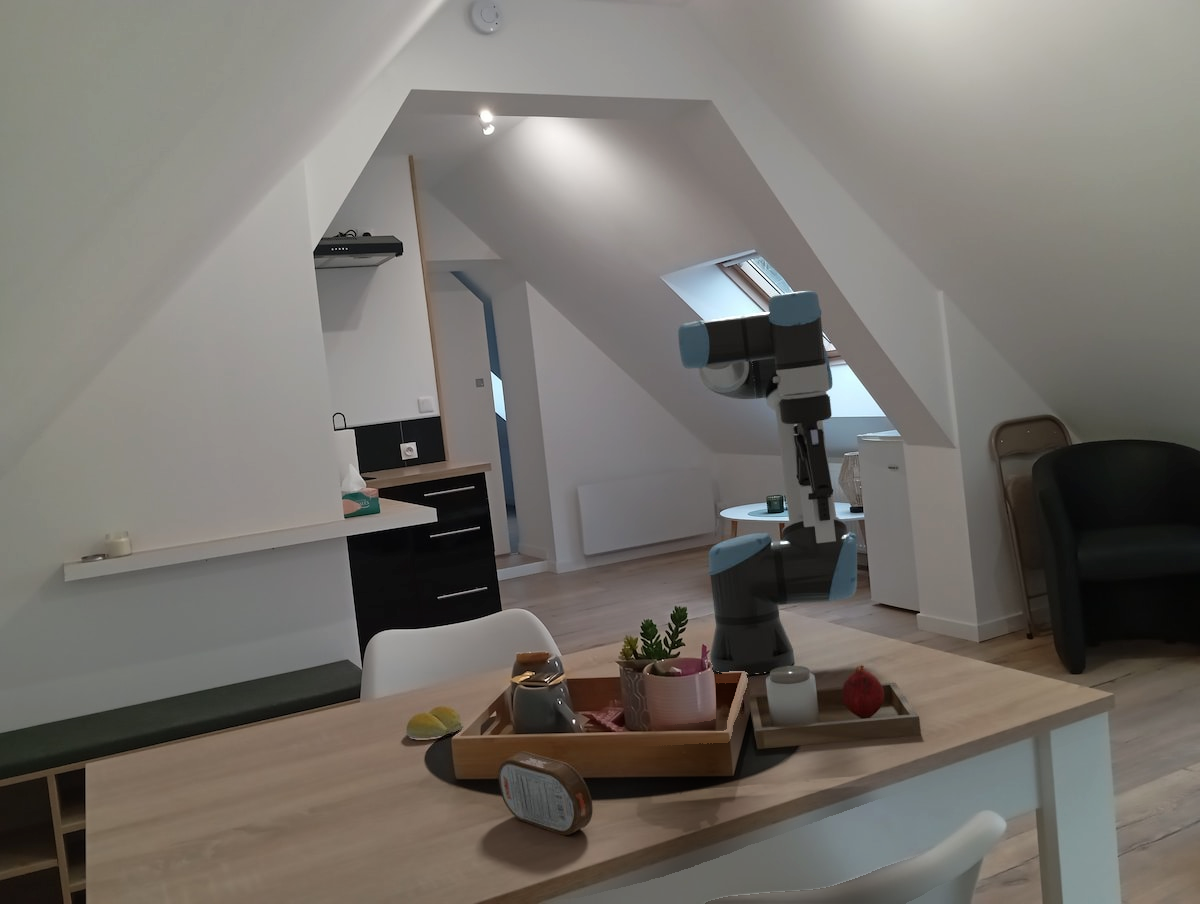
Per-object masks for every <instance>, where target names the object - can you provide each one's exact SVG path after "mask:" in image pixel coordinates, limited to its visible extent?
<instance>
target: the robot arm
mask: <svg viewBox="0 0 1200 904" xmlns="http://www.w3.org/2000/svg"><path fill="white" fill-rule="evenodd" d="M677 335H678V338H677V339H678V347H679V354H680V360H681V363H682V366H683V367H684V368H685V369H688V370H689V369H698V371H699V373H698V374H699V377H700V379H701V381H702V383H703V384H704V385H705V386H706V387H707V389H708V390H710V391H711V392H713V393H716V394H718V395H720V396H724V397H728V398H731V399H737V400H757V399H765V400H766V405H767V407H768V408H770V409H771V410H773V411H774V412H775V416H776V426H777V433H778V440H779V441H778V442H779V450H780V456H781V458H780V459H781V465H782V473H783V474H782V475H783V482H784V491H785V499H786V500H785V501H786V507H787V516H788V523H787V524H786V525H785V526H784V527H783V528H782V530H781V534H782V539H779V540H778V539H777V540H776V539H775V540H772V537H771V535H770V533H768V532H759V533H750V534H746V535H741V536H736V537H733V538H730V539H726V540H724V541H721V542H718V543H717V544H715V545H713V546H712V547H711V549H710V550H709V553H708V567H709V569H708V575H709V576H710V582H711V584H710V585H711V593H712V600H713V601H712V603H713V610H714V618H715V629H714V634H713V638H712V639H713V640H712V644H711V649H710V653H709V660H710V664H711V663H712V665H713V670H712V671H714V672H715V671H719V672H729V671H745V672H747V673H748V674H749V675H748V676H751V675H750V674H755V673H764V672H770V671H771V670H773V669H775V668H779V667H784V666H793V664H794V663H795V653H794V648H793V646H792V643H791V642H790V638H789V636H788V635H787V632H786V631H785V628H784V626H783V623H782V622H781V617H780V610H779V606H781V605H783V606H784V605H792V604H793V605H794V604H805V603H806V604H807V603H817V602H829V603H831V602H833V601H836V600H837V601H839V600H846V599H849V598H852V597H853V596H854V595H855V593H856V592H857V585H858V584H857V583H858V542H857V541H858V540H857V534H856V533H855V532H851V531H849V532H848V529H847V525H846V522H845V521H844V520H842V519H840V518H839V517H838V516H837V514H836V513H837V512H836V506H835V499H834V488H833V485H832V478H831V471H830V464H829V459H828V458H829V456H828V450H827V449H828V448H827V444H826V437H825V429H824V424H823V423H824V421H826V420H829V419H831V417H832V414H833V413H832V406H831V398H830V397H831V396H830V395H829V394H827V392H828V391H829V390H831V389H832V388H833V376H832V371H831V367H830V361H829V360H830V359H829V356H828V353H827V349H826V346H825V344H824V343H825V342H824V333H823V324H822V309H821V306H820V301H819V295H818V294H817V292H815V291H813V290H804V291H801V290H800V291H796V292H795V291H794V292H787V293H782V294H777V295H776V294H775V295H773V296H771V297H770V299H769V300H768V311H764V312H757V313H756V312H755V313H751V314H741V315H739V316H737V315H735V316H729V317H722V318H712V319H704V320H701V319H698V320H695V321H692V322H687V323H683V324H680V325H679V328H678V331H677Z"/></svg>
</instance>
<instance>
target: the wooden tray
mask: <svg viewBox="0 0 1200 904" xmlns="http://www.w3.org/2000/svg"><path fill="white" fill-rule="evenodd" d="M881 685H882V687H883V690H884V701H883V704H882V706H881V708H880V709H879V710H878V711H877V712H876V713H875V714H874V715H873V716H871V717H870V718H867V719H861V718H860V717H858V716H856V715H855V714H853V713H852V712H851V711H850V710H848V708H847V707H846V705H845V703H844V701H843V698H842V689H843V686H842V687H841V686H840V687H830V688H829V687H827V688H820V689H817V688H816V692H817V701H818V710H819V718H820V723H811V724H800V725H789V726H778V727H771V722H770V713H769V705H768V696H767V693H766V694H765V693H764V694H755V695H748V699H749V709H750V716H751V720H752V721H751V722H752V727H753V731H754V732H753V733H754V738H755V743H756V748H757V749H756V750H764V749H776V748H777V749H778V748H787V747H797V746H808V745H809V746H810V745H822V744H823V745H824V744H831V743H843V742H844V743H846V742H855V741H866V740H878V739H879V740H880V739H888V738H889V739H890V738H900V737H912V736H914V737H915V736H921V735H922V731H921V721H920V720H921V719H920V716H919V714H918V712H917V711H916V710H915V708H914V707H913V706H912V704H911V703H910V701H909V700H908V699H907V697H906V696H905V695H904V692H903V691H902V690H901V688H900V687H899V686H898V685H897V683H896V682H895V681H893V682H884V683H883V682H882V683H881Z"/></svg>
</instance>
